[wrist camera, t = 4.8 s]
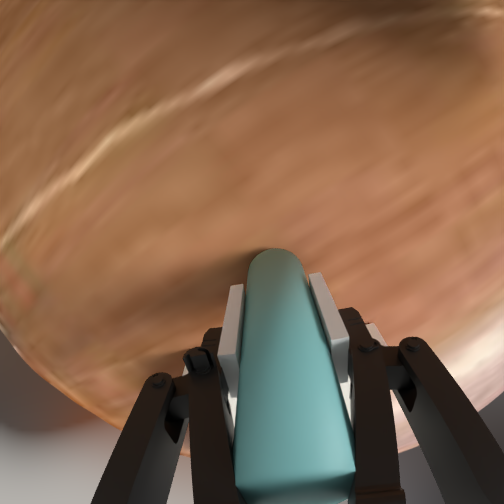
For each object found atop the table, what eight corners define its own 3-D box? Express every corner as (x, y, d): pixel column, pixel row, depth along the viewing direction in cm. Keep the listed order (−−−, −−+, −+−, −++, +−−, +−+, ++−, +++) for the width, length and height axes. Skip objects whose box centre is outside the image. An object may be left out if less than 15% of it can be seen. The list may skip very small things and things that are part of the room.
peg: (243, 253, 21) (212, 473, 6) (300, 244, 20) (374, 454, 5) (252, 302, 22) (243, 516, 7) (305, 294, 22) (357, 502, 7)
